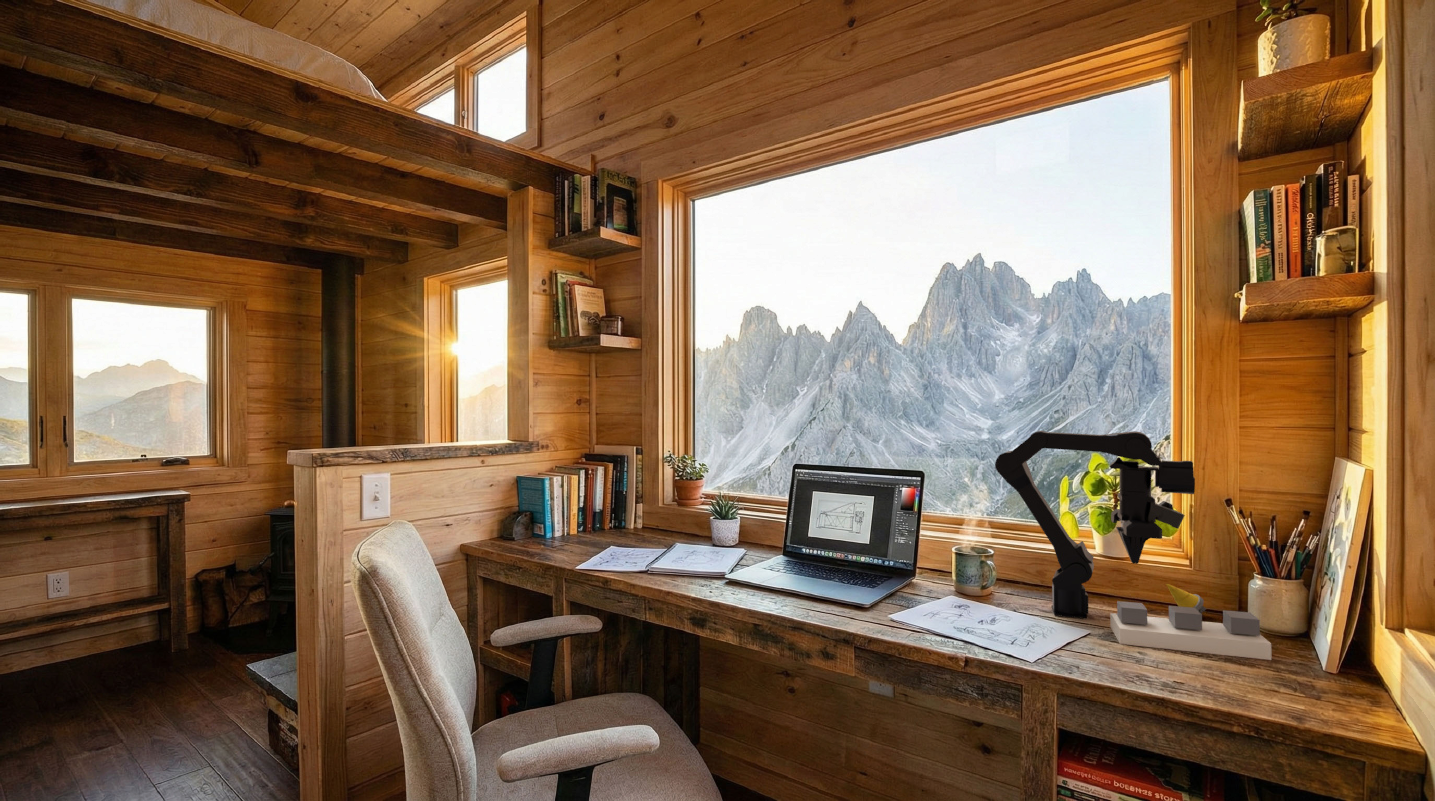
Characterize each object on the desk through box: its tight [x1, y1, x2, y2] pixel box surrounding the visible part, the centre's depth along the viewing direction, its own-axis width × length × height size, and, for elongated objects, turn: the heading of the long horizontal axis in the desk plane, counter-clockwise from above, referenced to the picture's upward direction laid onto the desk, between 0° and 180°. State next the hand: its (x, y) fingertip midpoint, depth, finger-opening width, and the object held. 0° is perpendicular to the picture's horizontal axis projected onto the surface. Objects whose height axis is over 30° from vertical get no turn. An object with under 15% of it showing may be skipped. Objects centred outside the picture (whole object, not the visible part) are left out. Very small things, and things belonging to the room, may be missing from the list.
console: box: [1109, 612, 1272, 661], centre depth 130 cm, size 24×10×3 cm, turn 68°
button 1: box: [1116, 600, 1148, 625], centre depth 133 cm, size 4×4×6 cm
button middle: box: [1168, 605, 1203, 630], centre depth 130 cm, size 4×4×6 cm
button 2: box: [1222, 610, 1261, 636], centre depth 126 cm, size 4×4×6 cm
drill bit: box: [1165, 583, 1207, 617], centre depth 146 cm, size 5×5×10 cm
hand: (1134, 563), depth 141 cm, fingers closed
